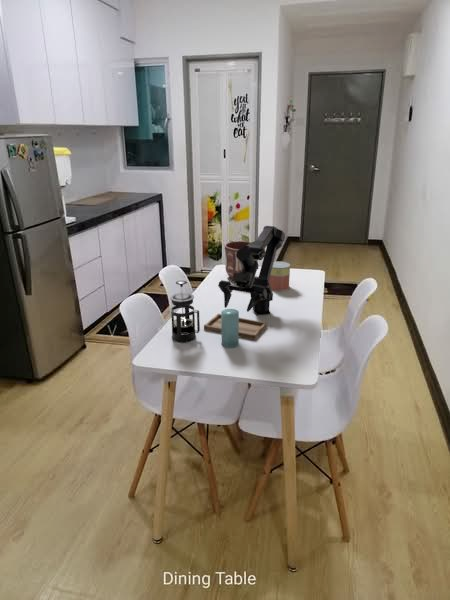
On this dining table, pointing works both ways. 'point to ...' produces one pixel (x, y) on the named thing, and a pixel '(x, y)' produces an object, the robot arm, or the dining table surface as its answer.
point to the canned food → (280, 276)
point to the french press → (183, 323)
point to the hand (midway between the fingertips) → (236, 309)
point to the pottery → (233, 257)
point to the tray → (246, 327)
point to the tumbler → (230, 328)
